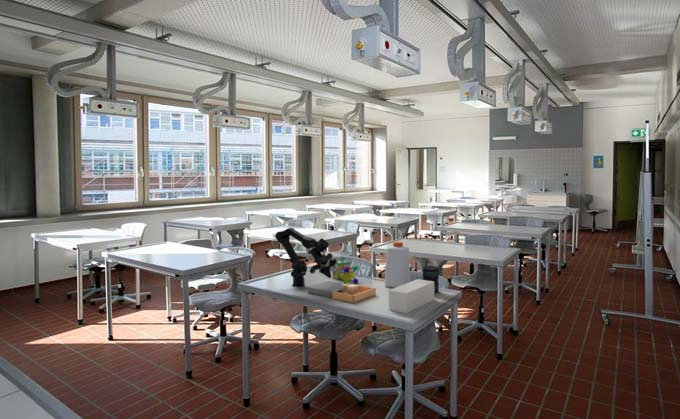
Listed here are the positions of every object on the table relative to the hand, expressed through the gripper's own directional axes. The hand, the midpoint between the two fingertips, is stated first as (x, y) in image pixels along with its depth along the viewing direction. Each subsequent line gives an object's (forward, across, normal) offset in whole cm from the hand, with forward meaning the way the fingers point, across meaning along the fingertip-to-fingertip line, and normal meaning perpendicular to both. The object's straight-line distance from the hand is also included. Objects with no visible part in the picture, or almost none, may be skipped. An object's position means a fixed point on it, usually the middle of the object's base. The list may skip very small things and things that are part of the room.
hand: (330, 277), depth 283 cm
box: (+18, +2, -8) cm, 20 cm away
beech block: (+11, +1, -5) cm, 12 cm away
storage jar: (+38, +43, -23) cm, 62 cm away
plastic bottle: (+22, +40, -5) cm, 46 cm away
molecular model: (+5, +21, +13) cm, 25 cm away
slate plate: (+7, -1, +5) cm, 9 cm away
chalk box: (-4, +29, +25) cm, 39 cm away
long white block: (+41, +13, -32) cm, 54 cm away
